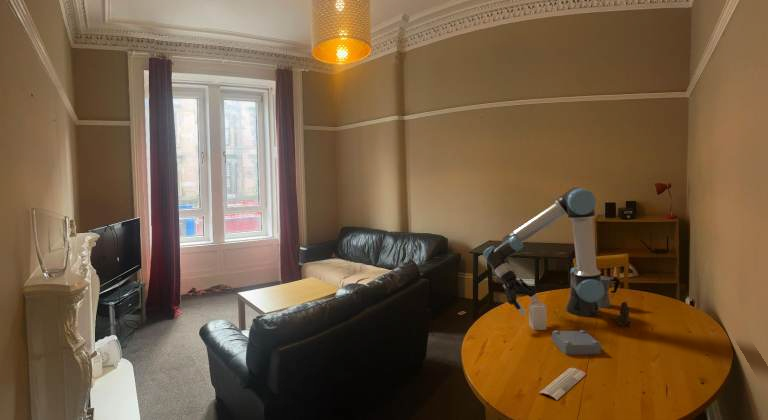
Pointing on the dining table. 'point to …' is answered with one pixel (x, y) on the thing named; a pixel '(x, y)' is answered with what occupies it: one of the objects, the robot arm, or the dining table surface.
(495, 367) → the dining table surface
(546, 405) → the dining table surface
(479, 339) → the dining table surface
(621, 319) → the dark figurine
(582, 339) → the base plate
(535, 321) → the tower brick
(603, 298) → the coffeepot
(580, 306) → the robot arm
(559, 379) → the newspaper
